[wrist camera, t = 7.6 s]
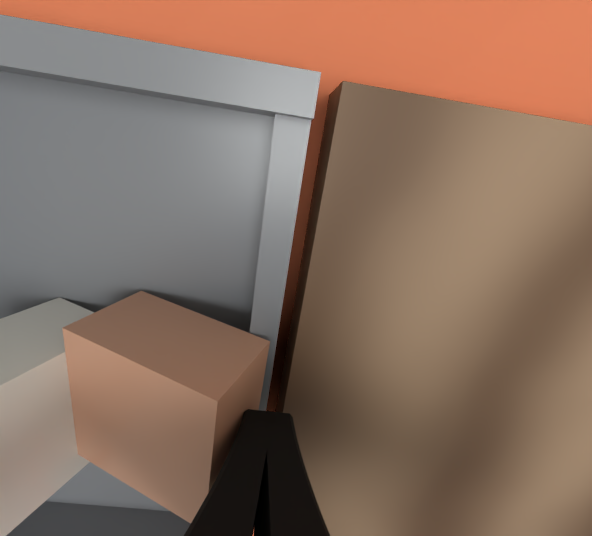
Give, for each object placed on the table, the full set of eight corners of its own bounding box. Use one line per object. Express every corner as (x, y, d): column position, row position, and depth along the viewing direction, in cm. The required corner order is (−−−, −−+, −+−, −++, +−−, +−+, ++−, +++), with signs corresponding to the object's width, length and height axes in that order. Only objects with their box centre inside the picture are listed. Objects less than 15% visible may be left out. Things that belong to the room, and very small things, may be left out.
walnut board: (781, 174, 10) (929, 186, 8) (533, 538, 17) (573, 603, 14) (329, 94, 9) (343, 81, 7) (257, 515, 16) (252, 581, 13)
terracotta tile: (270, 341, 9) (217, 401, 7) (250, 454, 11) (203, 531, 9) (141, 290, 10) (62, 327, 8) (143, 399, 12) (77, 454, 10)
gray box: (311, 91, 9) (333, 45, 4) (247, 514, 16) (229, 674, 11) (-124, 15, 8) (-662, -141, 4) (3, 494, 15) (-128, 658, 10)
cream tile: (-94, 434, 6) (-167, 379, 7) (-43, 578, 7) (-106, 523, 8) (119, 323, 10) (59, 297, 11) (121, 433, 11) (70, 404, 12)
